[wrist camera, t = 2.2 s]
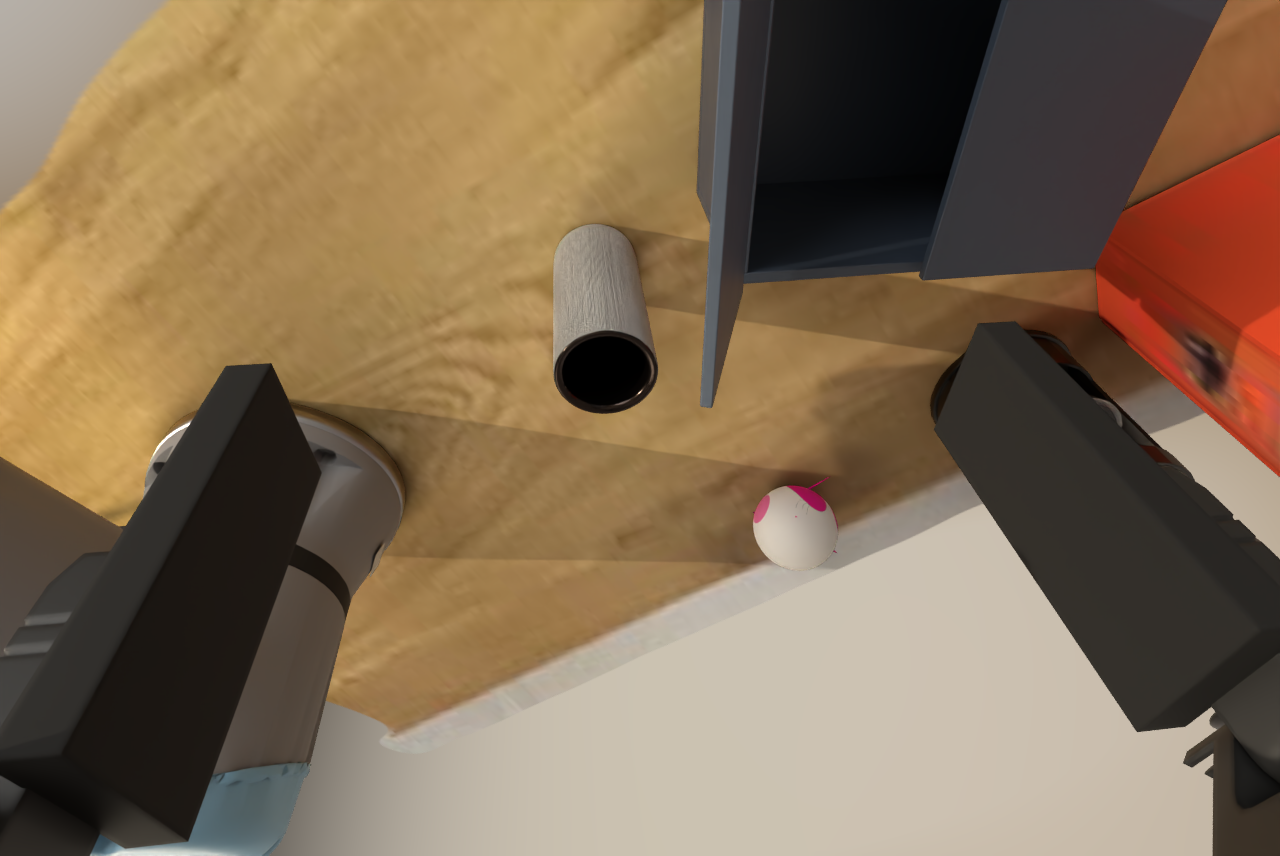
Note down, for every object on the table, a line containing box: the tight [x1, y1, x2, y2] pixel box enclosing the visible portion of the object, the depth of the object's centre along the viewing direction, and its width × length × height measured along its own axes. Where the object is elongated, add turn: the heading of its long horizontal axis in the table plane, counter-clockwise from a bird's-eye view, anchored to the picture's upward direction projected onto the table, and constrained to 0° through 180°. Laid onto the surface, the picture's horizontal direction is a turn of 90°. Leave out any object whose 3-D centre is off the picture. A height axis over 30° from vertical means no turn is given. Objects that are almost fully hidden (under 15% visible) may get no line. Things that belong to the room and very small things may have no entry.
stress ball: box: [753, 476, 838, 571], centre depth 49 cm, size 8×8×7 cm
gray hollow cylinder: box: [553, 224, 658, 414], centre depth 32 cm, size 4×4×10 cm
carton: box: [697, 0, 1227, 284], centre depth 26 cm, size 15×13×10 cm
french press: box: [930, 330, 1261, 729], centre depth 36 cm, size 12×9×23 cm
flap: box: [700, 0, 771, 408], centre depth 19 cm, size 7×13×1 cm
